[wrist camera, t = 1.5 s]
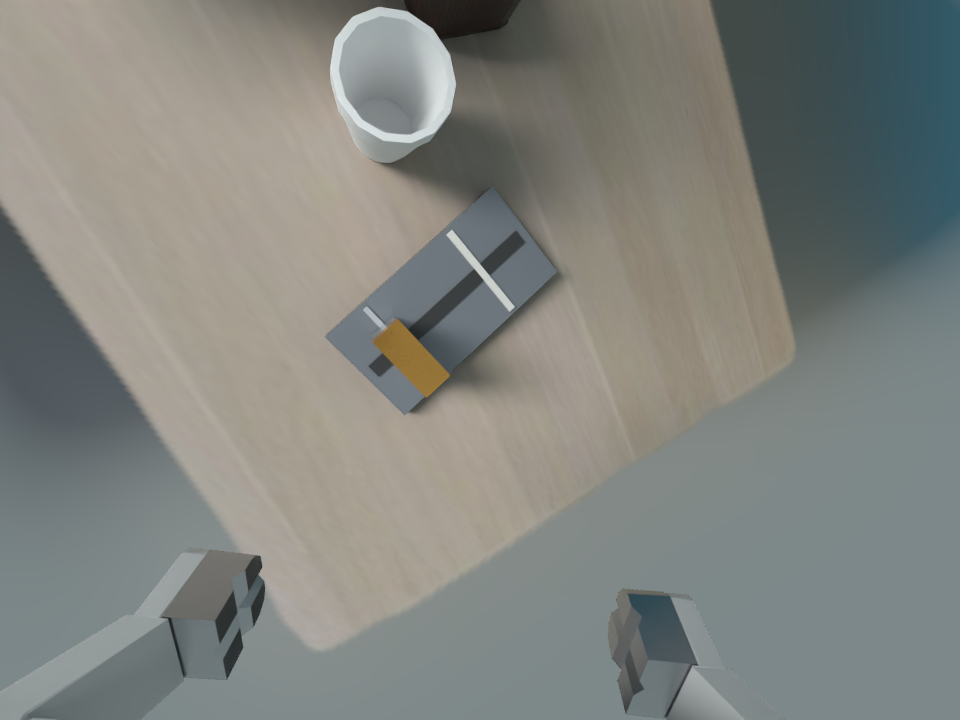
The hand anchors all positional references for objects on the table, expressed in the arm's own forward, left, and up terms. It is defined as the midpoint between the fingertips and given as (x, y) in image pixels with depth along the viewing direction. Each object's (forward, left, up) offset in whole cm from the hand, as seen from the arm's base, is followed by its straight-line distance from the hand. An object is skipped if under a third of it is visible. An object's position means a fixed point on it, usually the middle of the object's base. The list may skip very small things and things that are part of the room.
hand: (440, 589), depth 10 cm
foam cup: (-22, +4, -42) cm, 48 cm away
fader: (0, +4, -39) cm, 39 cm away
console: (-4, +9, -42) cm, 43 cm away
